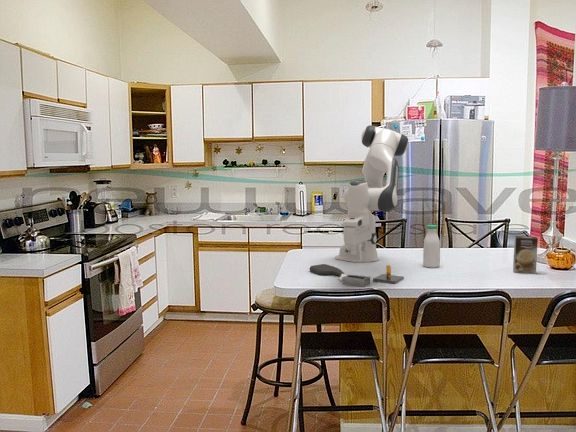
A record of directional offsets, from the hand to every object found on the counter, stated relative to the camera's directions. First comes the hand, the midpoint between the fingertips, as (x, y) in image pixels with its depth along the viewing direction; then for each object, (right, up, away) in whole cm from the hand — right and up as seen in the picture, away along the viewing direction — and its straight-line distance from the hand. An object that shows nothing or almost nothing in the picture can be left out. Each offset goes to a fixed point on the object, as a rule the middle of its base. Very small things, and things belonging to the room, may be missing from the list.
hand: (358, 253), depth 213 cm
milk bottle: (+40, -9, +35) cm, 54 cm away
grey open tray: (-1, -13, +2) cm, 13 cm away
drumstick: (-9, -12, +20) cm, 25 cm away
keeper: (+14, -12, +8) cm, 20 cm away
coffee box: (+78, -10, +20) cm, 81 cm away
